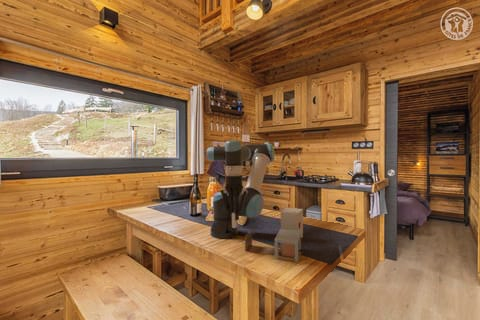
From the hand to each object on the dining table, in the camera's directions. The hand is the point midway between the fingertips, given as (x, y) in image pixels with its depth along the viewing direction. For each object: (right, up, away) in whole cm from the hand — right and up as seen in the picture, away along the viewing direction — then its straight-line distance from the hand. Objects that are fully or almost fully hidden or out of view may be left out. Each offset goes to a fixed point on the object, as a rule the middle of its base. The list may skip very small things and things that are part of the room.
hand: (234, 226), depth 102 cm
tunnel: (+23, -10, -8) cm, 26 cm away
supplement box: (+29, -10, +11) cm, 32 cm away
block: (+23, -9, -8) cm, 26 cm away
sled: (+17, -10, -5) cm, 20 cm away
